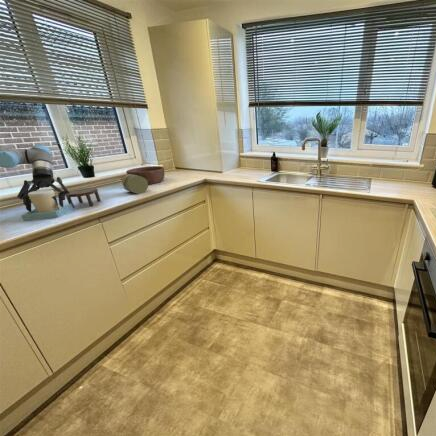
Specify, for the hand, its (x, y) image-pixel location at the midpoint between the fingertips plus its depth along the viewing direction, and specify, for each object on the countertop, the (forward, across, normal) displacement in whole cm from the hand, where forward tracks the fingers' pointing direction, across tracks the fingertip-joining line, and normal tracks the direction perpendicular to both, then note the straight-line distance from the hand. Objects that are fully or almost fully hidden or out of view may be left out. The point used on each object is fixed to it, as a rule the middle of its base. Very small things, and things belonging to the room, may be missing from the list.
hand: (45, 207), depth 118 cm
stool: (-6, -13, -12) cm, 19 cm away
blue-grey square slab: (+1, 0, -5) cm, 5 cm away
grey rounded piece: (-16, -38, -22) cm, 46 cm away
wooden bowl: (-36, -45, -42) cm, 71 cm away
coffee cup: (+1, 0, -5) cm, 5 cm away
